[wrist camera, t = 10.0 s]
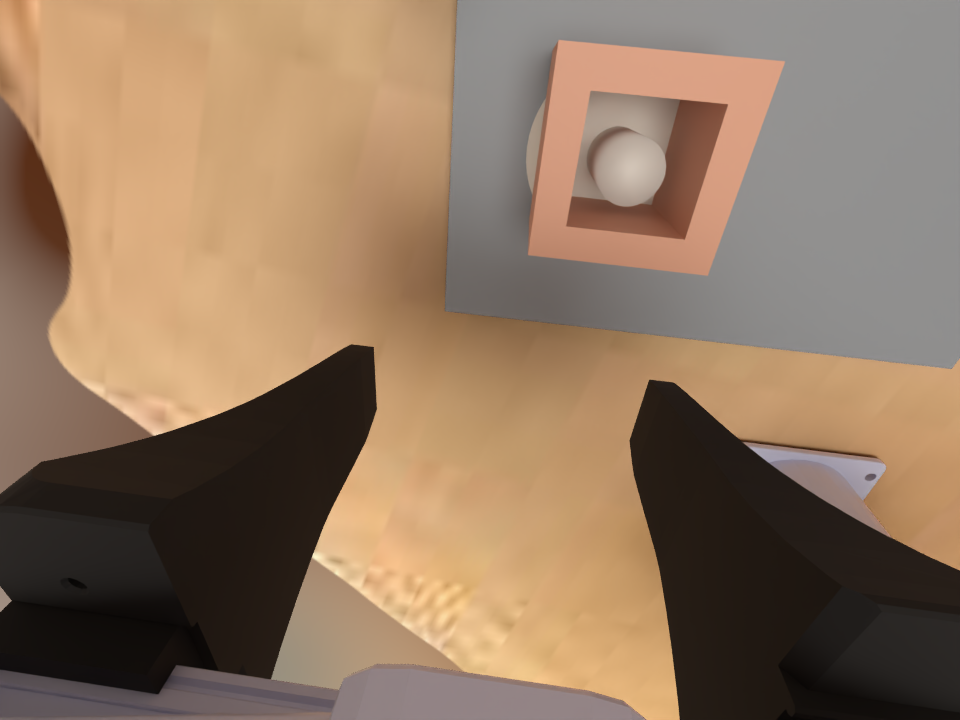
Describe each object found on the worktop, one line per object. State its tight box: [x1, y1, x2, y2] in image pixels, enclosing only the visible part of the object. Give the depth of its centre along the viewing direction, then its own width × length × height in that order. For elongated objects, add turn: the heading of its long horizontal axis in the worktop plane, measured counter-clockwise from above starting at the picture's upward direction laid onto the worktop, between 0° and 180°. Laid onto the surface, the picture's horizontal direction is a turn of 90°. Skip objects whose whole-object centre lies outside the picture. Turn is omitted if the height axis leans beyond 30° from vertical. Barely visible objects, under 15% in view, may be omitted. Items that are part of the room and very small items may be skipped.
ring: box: [528, 40, 785, 276], centre depth 15 cm, size 6×6×4 cm
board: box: [445, 0, 960, 369], centre depth 16 cm, size 14×22×5 cm, turn 86°
